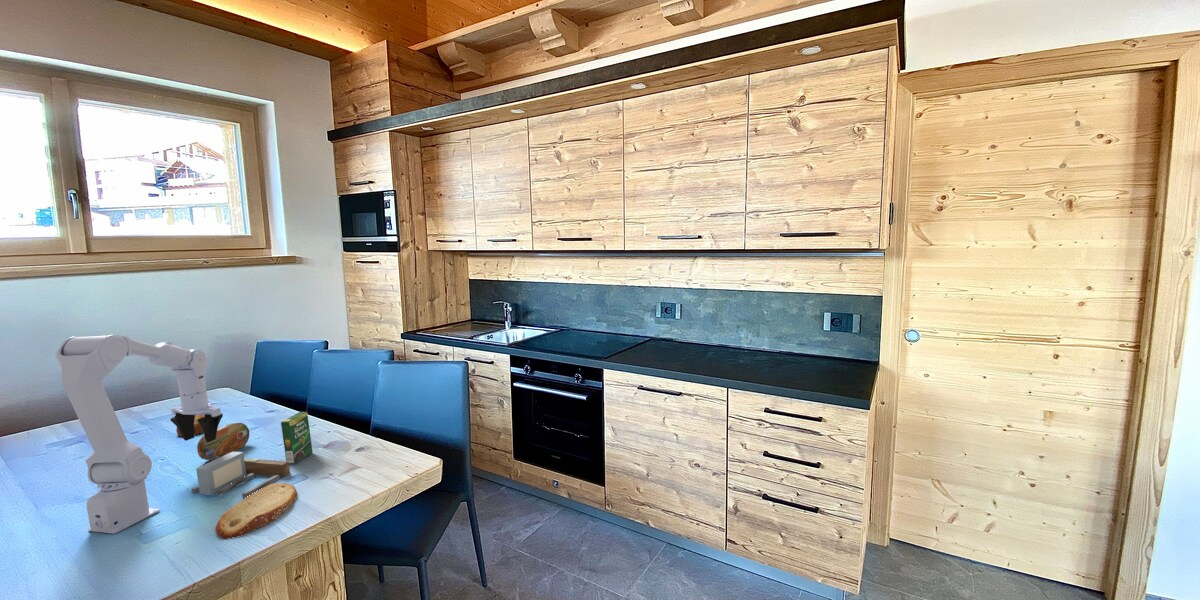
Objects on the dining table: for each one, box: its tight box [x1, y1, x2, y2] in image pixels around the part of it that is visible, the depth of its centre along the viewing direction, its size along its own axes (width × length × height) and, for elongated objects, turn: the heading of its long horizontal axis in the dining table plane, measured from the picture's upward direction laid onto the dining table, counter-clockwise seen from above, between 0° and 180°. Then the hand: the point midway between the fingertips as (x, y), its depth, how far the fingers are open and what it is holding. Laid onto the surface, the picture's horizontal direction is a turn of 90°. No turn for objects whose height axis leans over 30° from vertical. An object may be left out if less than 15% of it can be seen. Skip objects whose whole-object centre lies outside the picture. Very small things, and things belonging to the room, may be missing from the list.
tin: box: [196, 422, 250, 461], centre depth 150 cm, size 15×3×8 cm, turn 168°
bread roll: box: [175, 415, 205, 437], centre depth 170 cm, size 10×10×8 cm
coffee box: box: [280, 411, 313, 465], centre depth 144 cm, size 8×3×13 cm, turn 175°
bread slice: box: [214, 482, 298, 540], centre depth 116 cm, size 18×18×4 cm
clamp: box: [191, 457, 291, 498], centre depth 130 cm, size 13×18×4 cm
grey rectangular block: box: [195, 451, 247, 496], centre depth 130 cm, size 10×4×7 cm, turn 168°
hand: (200, 439), depth 136 cm, fingers open, 7 cm apart
